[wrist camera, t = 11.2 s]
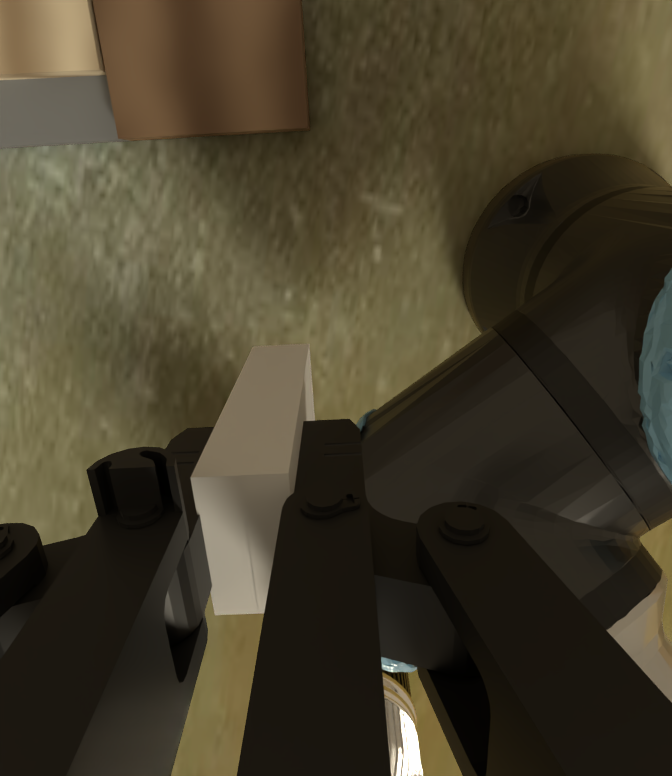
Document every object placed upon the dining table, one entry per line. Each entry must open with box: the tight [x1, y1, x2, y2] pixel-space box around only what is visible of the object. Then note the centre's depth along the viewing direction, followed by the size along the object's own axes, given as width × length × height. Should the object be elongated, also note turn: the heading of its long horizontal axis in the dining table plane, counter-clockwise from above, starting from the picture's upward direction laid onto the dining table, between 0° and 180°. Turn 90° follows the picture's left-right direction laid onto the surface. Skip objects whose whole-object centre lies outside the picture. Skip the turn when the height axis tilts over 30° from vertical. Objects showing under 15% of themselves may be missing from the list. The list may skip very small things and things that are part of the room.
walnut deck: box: [92, 0, 310, 141], centre depth 32 cm, size 12×14×2 cm
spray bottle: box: [382, 669, 423, 776], centre depth 38 cm, size 10×10×25 cm
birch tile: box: [0, 0, 106, 80], centre depth 32 cm, size 8×6×2 cm
